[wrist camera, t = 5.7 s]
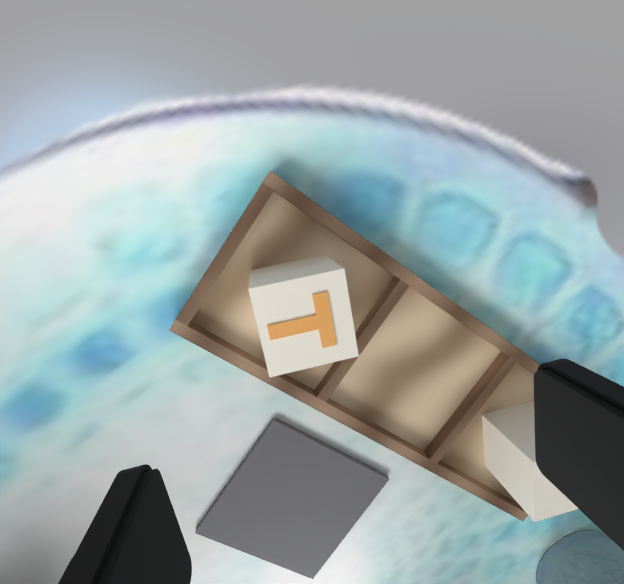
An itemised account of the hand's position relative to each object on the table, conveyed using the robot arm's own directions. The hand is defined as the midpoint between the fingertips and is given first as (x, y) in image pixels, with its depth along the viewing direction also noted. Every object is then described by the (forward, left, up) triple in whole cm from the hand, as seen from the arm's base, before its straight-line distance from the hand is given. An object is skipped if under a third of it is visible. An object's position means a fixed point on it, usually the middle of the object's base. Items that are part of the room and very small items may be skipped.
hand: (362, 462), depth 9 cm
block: (-22, 0, -16) cm, 27 cm away
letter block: (0, 0, -16) cm, 16 cm away
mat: (-9, +14, -16) cm, 23 cm away
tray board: (-11, 0, -16) cm, 20 cm away
